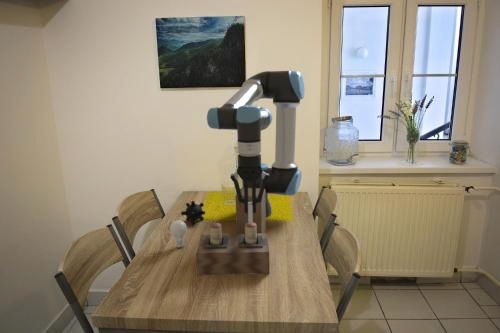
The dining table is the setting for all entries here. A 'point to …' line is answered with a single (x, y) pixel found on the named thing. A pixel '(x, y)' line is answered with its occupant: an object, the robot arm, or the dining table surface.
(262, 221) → the wooden block
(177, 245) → the lightbulb
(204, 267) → the socket block
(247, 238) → the peg
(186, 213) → the toy ball
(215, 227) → the peg
